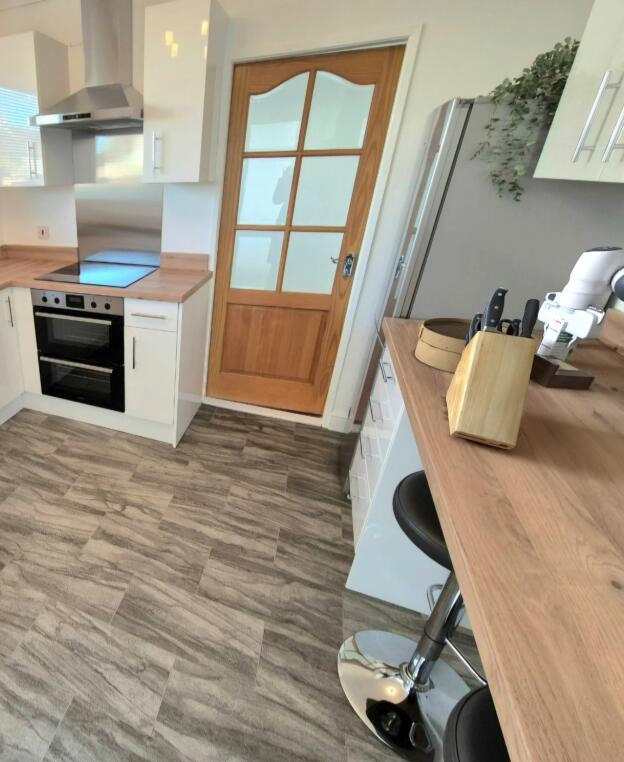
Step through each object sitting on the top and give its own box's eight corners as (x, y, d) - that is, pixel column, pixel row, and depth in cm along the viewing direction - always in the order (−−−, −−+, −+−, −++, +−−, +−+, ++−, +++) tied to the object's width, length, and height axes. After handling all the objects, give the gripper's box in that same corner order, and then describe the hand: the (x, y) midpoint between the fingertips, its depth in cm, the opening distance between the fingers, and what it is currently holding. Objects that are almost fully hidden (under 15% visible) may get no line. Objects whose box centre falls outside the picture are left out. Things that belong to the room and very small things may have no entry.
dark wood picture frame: (547, 366, 137) (557, 346, 134) (588, 389, 123) (600, 367, 120) (508, 364, 139) (517, 344, 136) (545, 386, 125) (556, 365, 121)
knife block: (492, 394, 120) (540, 285, 107) (511, 457, 94) (579, 323, 80) (443, 384, 126) (483, 279, 112) (448, 441, 100) (502, 313, 86)
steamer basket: (399, 358, 144) (409, 326, 139) (429, 342, 157) (439, 312, 152) (490, 384, 126) (506, 349, 121) (515, 363, 139) (530, 330, 134)
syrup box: (543, 363, 139) (564, 321, 133) (533, 357, 144) (553, 315, 138) (565, 365, 138) (587, 322, 131) (554, 359, 143) (575, 317, 136)
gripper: (620, 311, 122) (596, 355, 129) (564, 293, 140) (545, 332, 147) (595, 310, 123) (572, 354, 129) (543, 292, 141) (525, 331, 148)
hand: (557, 342), depth 138 cm, fingers open, 8 cm apart
